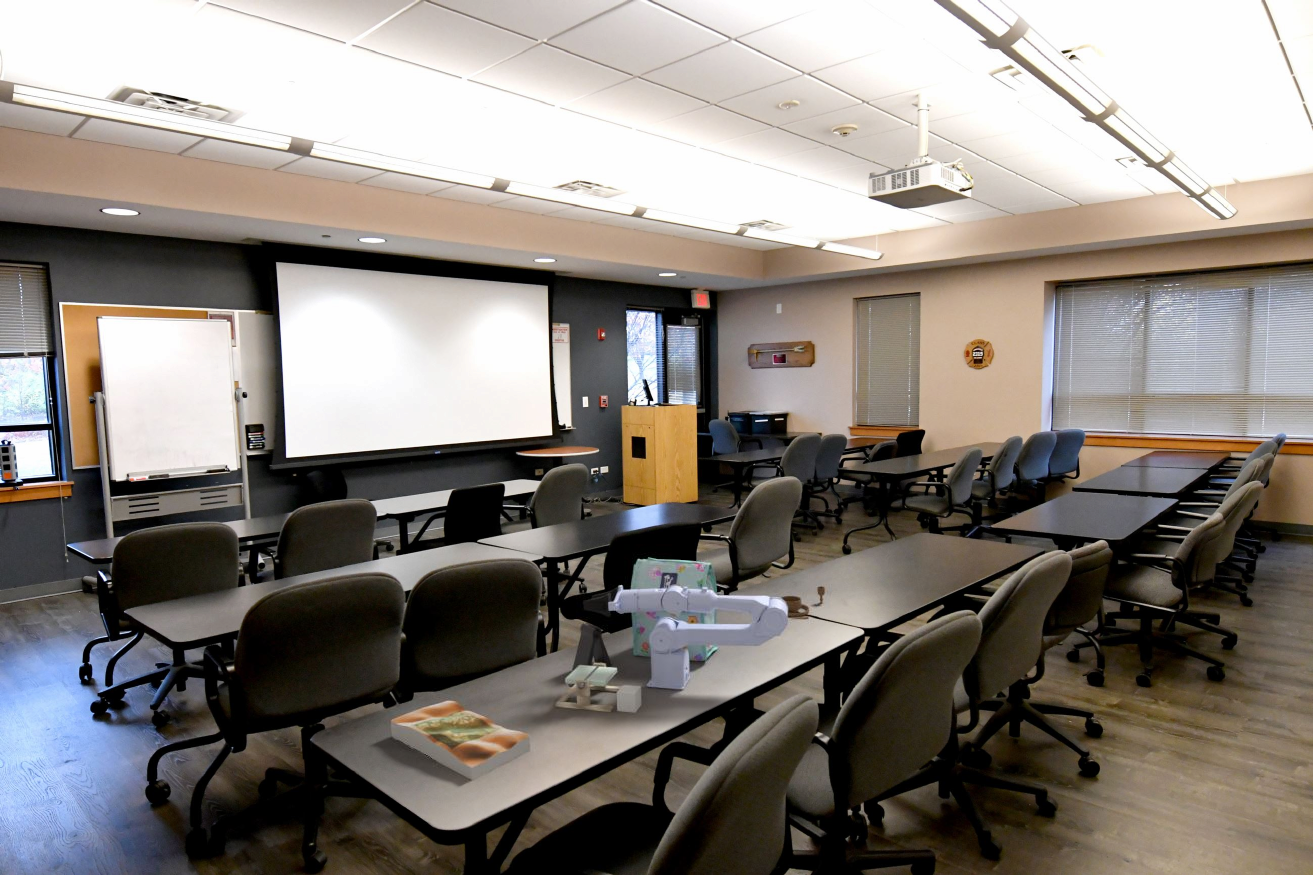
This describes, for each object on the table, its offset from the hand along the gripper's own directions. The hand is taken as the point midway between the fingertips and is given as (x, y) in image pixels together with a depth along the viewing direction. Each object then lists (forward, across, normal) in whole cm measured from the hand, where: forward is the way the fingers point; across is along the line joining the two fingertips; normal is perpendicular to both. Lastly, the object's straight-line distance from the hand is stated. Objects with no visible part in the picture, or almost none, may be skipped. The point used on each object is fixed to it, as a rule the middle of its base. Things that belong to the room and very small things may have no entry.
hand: (588, 602), depth 192 cm
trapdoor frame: (-2, +9, +22) cm, 24 cm away
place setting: (-54, -65, +17) cm, 86 cm away
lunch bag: (-18, -24, +19) cm, 35 cm away
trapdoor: (-2, +9, +18) cm, 20 cm away
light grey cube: (-12, +13, +23) cm, 29 cm away
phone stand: (+3, -10, +20) cm, 22 cm away
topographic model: (+21, +34, +24) cm, 47 cm away
